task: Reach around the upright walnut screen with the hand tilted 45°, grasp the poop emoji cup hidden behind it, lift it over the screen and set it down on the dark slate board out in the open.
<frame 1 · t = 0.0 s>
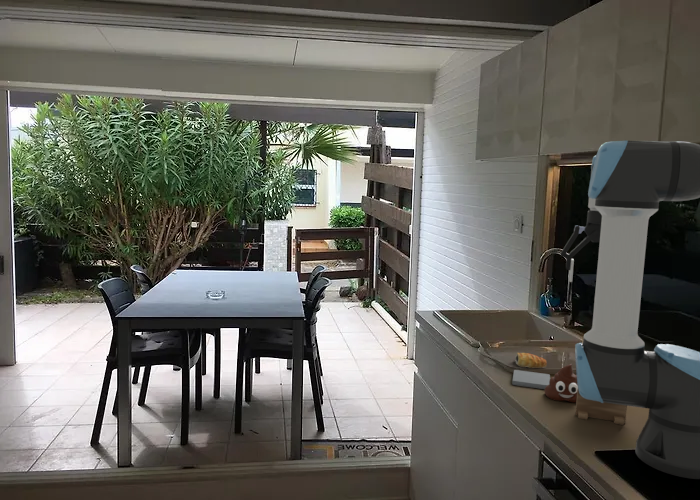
hand: (595, 283, 164), 28 cm above the worktop, tool pointing down, fingers open, 13 cm apart
poop emoji: (564, 398, 150), on the worktop
pastry: (528, 365, 177), on the worktop
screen: (599, 417, 138), on the worktop
board: (531, 381, 162), on the worktop
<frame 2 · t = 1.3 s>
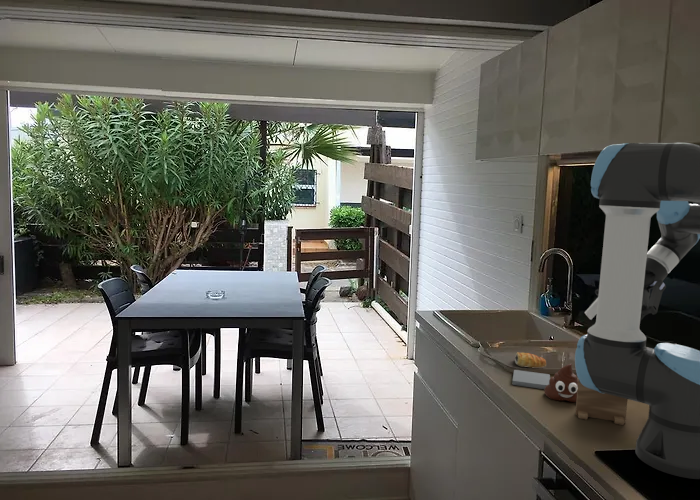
hand: (605, 322, 151), 20 cm above the worktop, tool tilted 45°, fingers open, 13 cm apart
nothing on the worktop moved.
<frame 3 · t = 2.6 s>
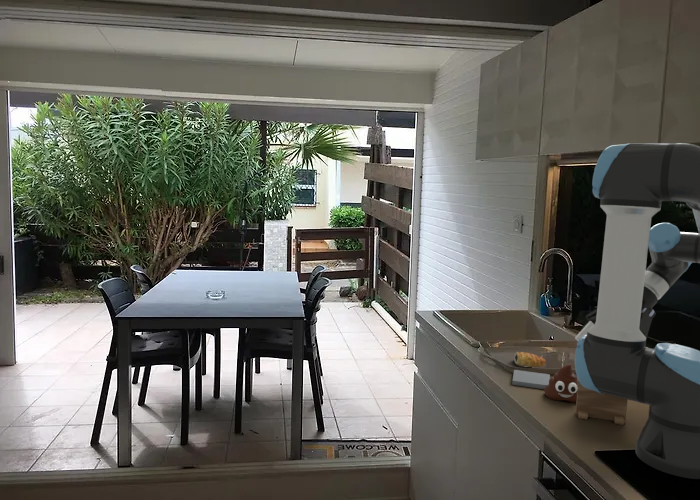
hand: (594, 348, 151), 13 cm above the worktop, tool tilted 45°, fingers open, 13 cm apart
nothing on the worktop moved.
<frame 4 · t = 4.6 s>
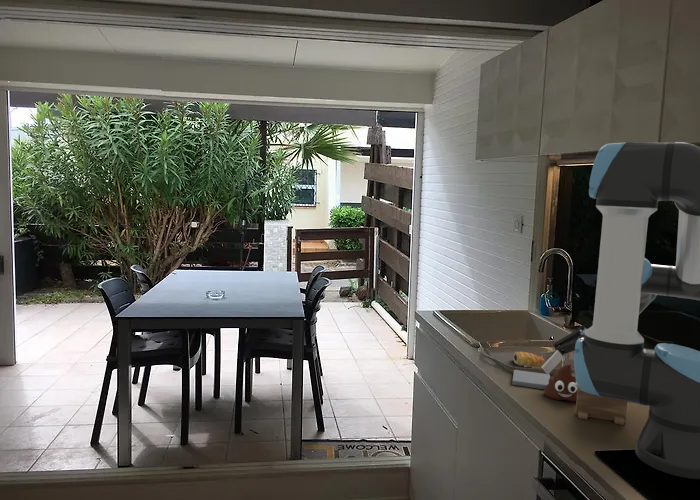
hand: (560, 379, 149), 5 cm above the worktop, tool tilted 45°, fingers open, 13 cm apart
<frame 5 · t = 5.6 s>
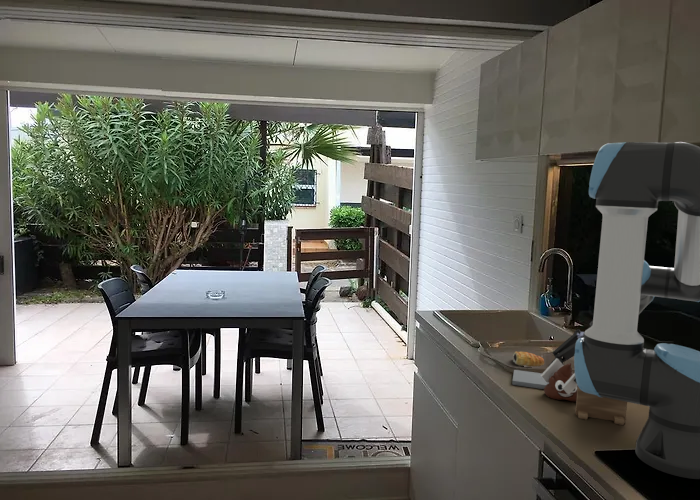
hand: (554, 384, 149), 4 cm above the worktop, tool tilted 45°, fingers closed on poop emoji, 8 cm apart
poop emoji: (563, 397, 150), on the worktop, touching gripper
when the fingers open (6 cm above the worktop, at t = 10.6 s): poop emoji drops 1 cm, resting on board.
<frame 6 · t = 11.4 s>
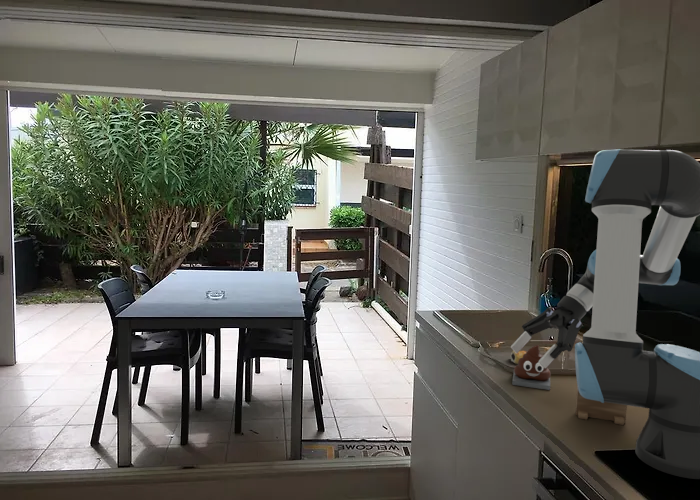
hand: (527, 357, 160), 7 cm above the worktop, tool tilted 45°, fingers open, 13 cm apart
poop emoji: (531, 377, 162), point 1 cm above the worktop, touching board
pastry: (523, 363, 180), on the worktop
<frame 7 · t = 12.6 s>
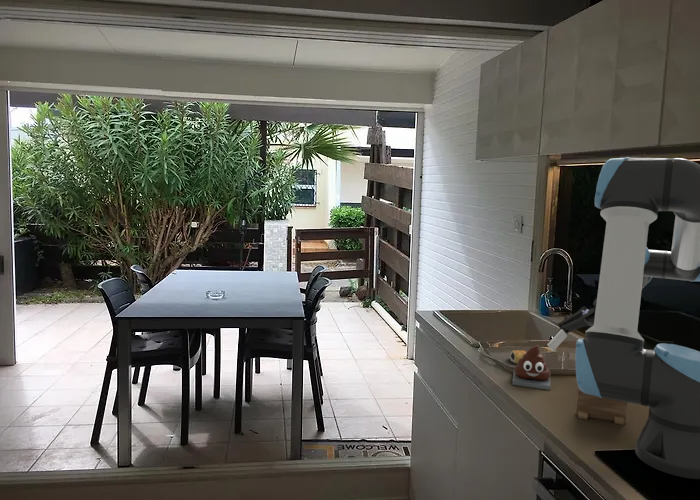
hand: (564, 354, 164), 7 cm above the worktop, tool tilted 45°, fingers open, 13 cm apart
nothing on the worktop moved.
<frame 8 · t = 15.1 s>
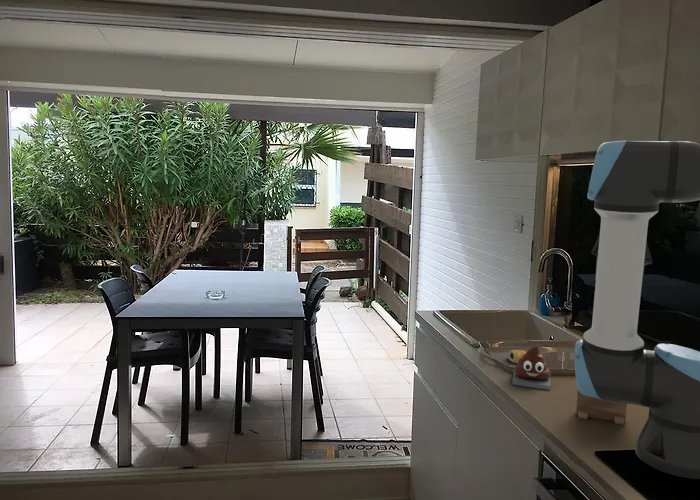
hand: (617, 284, 159), 29 cm above the worktop, tool pointing down, fingers open, 13 cm apart
at the end: poop emoji inside the target area on the board (0.6 cm from its centre), point 1.0 cm above the board's base; poop emoji tilted 0°; the gripper is holding nothing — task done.
